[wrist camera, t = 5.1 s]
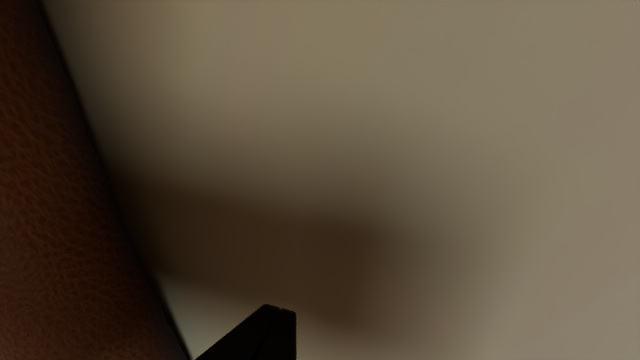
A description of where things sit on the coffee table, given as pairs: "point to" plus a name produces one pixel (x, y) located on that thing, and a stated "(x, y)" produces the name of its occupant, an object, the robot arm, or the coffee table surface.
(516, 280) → the coffee table surface
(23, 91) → the sunglasses case
